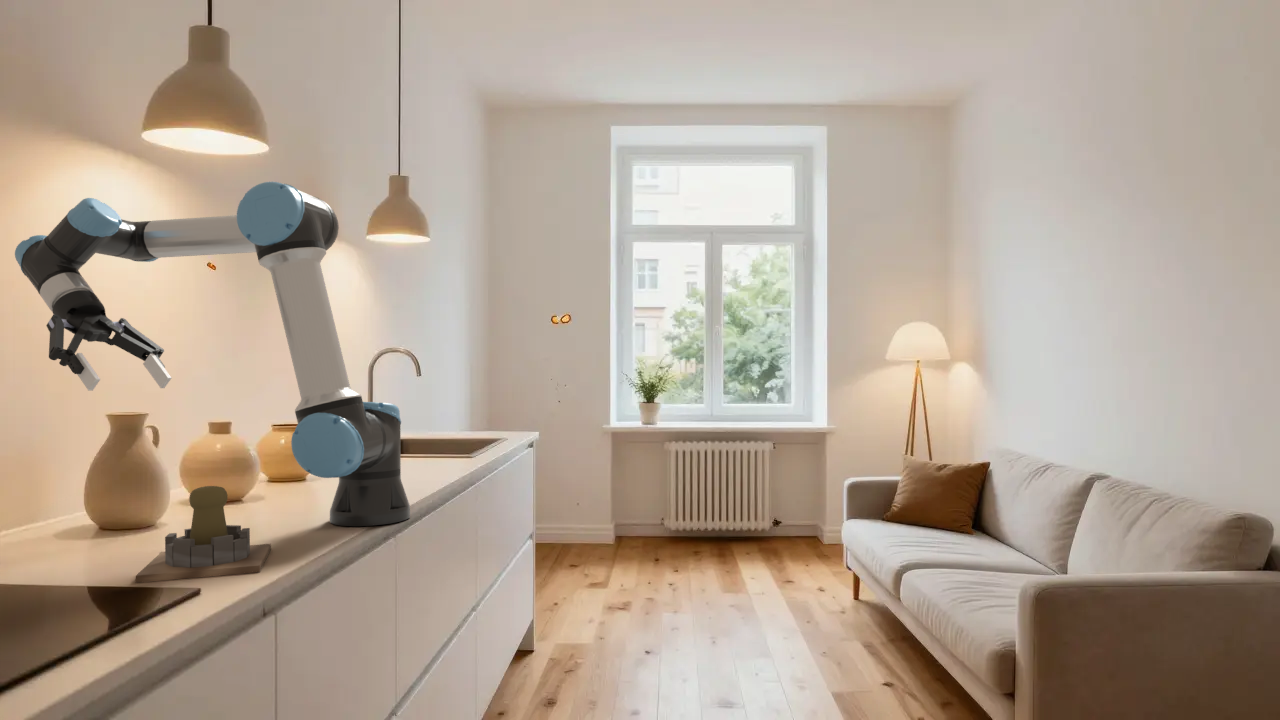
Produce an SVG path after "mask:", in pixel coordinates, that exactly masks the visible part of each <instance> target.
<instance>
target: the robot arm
mask: <svg viewBox="0 0 1280 720" xmlns="http://www.w3.org/2000/svg"><path fill="white" fill-rule="evenodd" d="M337 217H338V216H337V215H336V213H335V211H334V209H333V208H332V207H331V206H330V205H329V204H328V203H327V202H326V201H324V200H323V199H321V198H319V197H317V196H314V195H311V194H309V193H306V192H304V191H302V190H299V189H297V188H296V187H295V186H293V185H292V184H287V183H283V182H282V183H281V182H279V181H278V182H277V181H264V182H261V183H258V184H256V185H255V186H253V187H251V188H250V189H248V190H247V191H246V193H244V195H243V197H242V199H241V200H240V201H239V204H238V206H237V209H236V215H222V216H205V217H191V218H189V217H188V218H175V219H174V218H173V219H159V220H158V219H157V220H146V221H145V220H144V221H142V220H141V221H130V220H126V219H122V218H121V216H120V214H118V212H117V211H116V210H115V209H114V208H113V207H111V206H110V205H108V204H107V203H105V202H103V201H100V200H99V199H97V198H93V197H85V198H83V199H82V200H81V201H79V202H78V203H77V205H75V206H74V207H73V208H71V209H69V211H68V212H67V214H66V215H65V216H64V217H63V218H62V219H61V220H60V221H59V222H58V224H57V225H56V226H55V227H54V228H53V229H52V230H51V232H49V234H47V235H44V234H39V235H38V234H37V235H32V236H30V237H29V238H27V239H24V240H21V241H20V242H19V243H18V244H17V246H16V248H15V250H14V258H15V260H16V262H17V265H19V267H20V271H21V272H22V273H23V275H24V276H25V277H27V279H28V280H29V281H30V282H31V284H32V286H33V287H34V288H35V290H36V291H37V294H39V295H40V297H41V298H42V300H43V301H44V303H45V304H46V306H47V308H48V309H49V310H50V311H51V312H52V316H51V317H50V319H49V320H48V322H47V324H46V328H47V330H48V331H49V340H48V341H49V346H48V358H49V359H50V360H52V361H57V360H59V365H60V366H62V367H67V366H68V368H69V369H70V371H71V372H72V373H73V374H74V375H77V376H78V378H79V380H80V381H81V383H83V385H84V386H85V388H86V389H87V391H94V389H95V388H96V386H97V385H98V384H99V382H100V381H101V378H100V376H99V374H97V372H96V371H95V370H94V368H93V367H92V365H91V364H90V363H89V361H88V359H87V358H86V357H85V355H84V354H83V353H82V352H77V351H78V348H79V346H80V345H81V343H82V341H83V340H84V341H87V342H90V343H92V342H99V343H105V344H107V345H109V346H115V347H117V348H119V349H122V350H123V351H125V352H127V353H129V354H131V355H132V356H134V357H136V358H138V359H140V360H142V361H143V363H142V365H143V366H144V368H145V369H146V370H147V371H148V373H149V374H150V375H151V377H152V378H153V380H154V381H155V382H156V384H157V385H158V386H159V388H160V389H165V388H166V387H167V385H168V384H169V382H170V381H171V379H172V376H171V375H170V374H169V371H168V370H167V369H166V365H165V364H164V363H163V362H162V360H161V359H160V358H161V356H162V355H163V353H164V352H165V349H164V348H162V347H161V345H158V344H157V343H156V342H154V341H153V340H152V339H150V338H149V337H147V336H146V335H145V334H143V333H142V332H140V331H139V330H138V329H137V328H135V327H133V325H132V324H130V322H129V321H128V320H127V319H125V318H124V317H120V318H119V320H118V321H112V319H110V318H108V317H107V315H106V308H105V306H104V304H103V303H102V302H101V300H100V298H98V296H97V295H96V294H95V292H94V290H93V289H92V288H91V286H90V284H88V282H87V281H86V280H85V278H84V277H83V276H82V274H81V273H80V271H79V270H80V269H81V268H82V267H83V266H84V265H85V264H86V263H87V262H88V261H89V260H90V259H91V258H92V257H93V256H94V255H95V254H100V255H103V256H112V257H115V258H121V259H127V260H131V261H133V262H143V263H146V262H147V263H148V262H149V263H150V262H155V261H156V260H158V259H160V258H175V257H176V258H177V257H178V258H179V257H193V256H195V257H196V256H213V255H214V256H215V255H229V254H231V255H232V254H233V255H234V254H247V253H248V254H249V253H256V256H257V260H258V263H259V266H261V267H263V268H265V269H266V270H268V271H269V273H270V275H271V278H272V284H273V287H274V292H275V295H276V300H277V303H278V309H279V312H280V316H281V319H282V320H281V321H282V323H283V324H282V325H283V329H284V332H285V337H286V341H287V344H288V345H287V346H288V349H289V353H290V358H291V362H292V366H293V371H294V374H295V378H296V382H297V386H298V387H297V388H298V392H299V395H300V401H299V403H298V404H297V406H296V407H295V409H294V413H295V418H296V422H297V425H296V426H295V430H294V431H293V433H292V434H291V435H292V436H291V439H290V440H291V441H290V442H291V451H292V454H293V457H294V459H295V461H296V462H297V464H298V465H299V466H300V467H301V468H302V469H303V470H304V472H307V473H309V474H311V475H312V476H315V477H318V478H322V479H323V478H324V479H335V478H338V485H337V487H336V491H335V494H334V497H333V500H332V503H331V506H330V509H329V523H330V524H332V525H335V526H342V527H343V526H345V527H370V526H381V525H389V524H395V523H399V522H404V521H406V520H408V519H410V517H411V505H410V502H409V499H408V496H407V493H406V491H405V488H404V485H403V482H402V477H401V475H402V474H401V473H402V472H401V467H402V466H401V465H402V463H401V459H402V458H401V457H402V455H401V452H402V451H401V444H402V443H401V424H402V420H401V415H400V414H401V413H400V408H399V407H398V406H397V405H396V404H395V403H394V404H393V403H390V402H377V401H363V397H362V395H361V394H360V393H359V392H356V391H355V390H353V389H352V387H351V386H350V381H349V378H348V374H347V369H346V364H345V361H344V356H343V352H342V348H341V345H340V341H339V336H338V331H337V329H336V323H335V319H334V315H333V311H332V308H331V307H332V306H331V303H330V299H329V294H328V290H327V286H326V282H325V277H324V275H323V270H322V265H321V262H322V260H323V259H324V258H325V256H326V255H327V251H328V250H329V249H330V248H331V247H332V246H333V245H334V243H336V240H337V237H338V235H339V228H340V227H339V221H338V218H337ZM65 330H67V331H68V332H70V333H72V334H74V335H73V337H72V338H71V340H70V342H69V344H68V346H67V348H64V342H65ZM113 333H114V334H113ZM112 334H113V336H112V338H111V335H112Z"/></svg>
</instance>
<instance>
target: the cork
mask: <svg viewBox="0 0 1280 720" xmlns="http://www.w3.org/2000/svg"><path fill="white" fill-rule="evenodd" d="M188 501H189V502H188V503H189V505H190V507H191V508H192V509H193V513H192V518H191V533H190V539H195V545H209V544H211V538H212V537H219V536H225V535H228V533H227V527H226V525H227V522H226V516H225V509H224V507H225V506H226V504H227V502H228V493H227V490H226V489H225V488H224V487H223V486H217V485H207V486H206V485H205V486H201V487H197V488H195V489H192V491H191V492H190V494H189V498H188Z"/></svg>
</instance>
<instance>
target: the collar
mask: <svg viewBox="0 0 1280 720" xmlns="http://www.w3.org/2000/svg"><path fill="white" fill-rule="evenodd" d="M226 527H227V533H228V535H225V536H219V537H212V538H211V544H209V545H195V539H190V533H191V528H185V529H184V535H183V536H179V537H178V533H177V532H173V533H172V532H171V533H170V532H169V533H167V535H165V537H164V540H165V542H164V544H165V545H164V546H165V548H164V550H165V551H161V552H160V553H159V554H158V555H157V556H156V557H155V558H154V557H153V559H152V560H151V561H150V562H149V563H148V564H147V565H146V566H144V567H143V568H142V569H141V570H140V571H139V572H138V573H136V574H135V584H136V583H137V584H138V583H149V582H151V583H152V582H161V581H172V580H173V581H174V580H184V579H196V578H207V577H218V576H221V577H222V576H230V575H231V576H232V575H242V574H243V575H244V574H255V573H256V574H257V573H260V572H261V571H262V568H263V567H264V564H265V562H266V560H267V558H268V556H269V555H270V552H271V550H272V543H264V544H263V543H259V544H251V542H250V541H251V539H250V538H251V537H250V536H251V535H250V534H251V532H250V531H251V530H250V529H251V527H246V528H245V527H244V528H242V525H235V524H230V525H229V524H226Z"/></svg>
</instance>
